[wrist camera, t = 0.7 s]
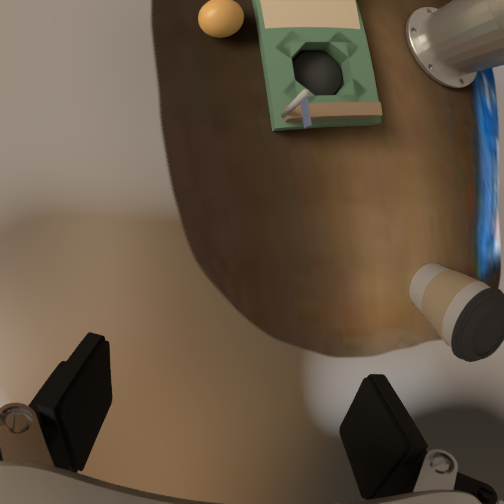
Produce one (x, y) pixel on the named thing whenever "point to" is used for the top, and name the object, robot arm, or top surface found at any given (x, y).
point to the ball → (221, 18)
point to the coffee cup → (460, 310)
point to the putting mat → (316, 64)
